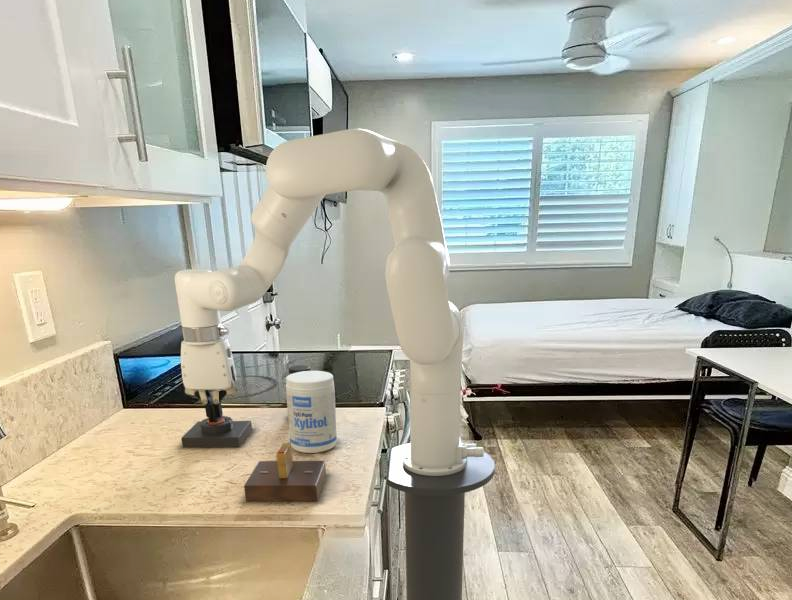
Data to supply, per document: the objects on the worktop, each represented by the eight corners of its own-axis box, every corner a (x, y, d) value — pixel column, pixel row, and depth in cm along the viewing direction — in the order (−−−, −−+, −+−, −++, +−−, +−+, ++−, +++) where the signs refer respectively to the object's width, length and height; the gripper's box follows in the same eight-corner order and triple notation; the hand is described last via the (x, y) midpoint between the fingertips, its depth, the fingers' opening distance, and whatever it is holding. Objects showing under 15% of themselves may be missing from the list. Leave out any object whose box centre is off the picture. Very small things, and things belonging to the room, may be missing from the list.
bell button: (228, 424, 123) (226, 417, 122) (222, 430, 120) (221, 423, 119) (211, 425, 123) (210, 417, 123) (206, 431, 120) (204, 423, 119)
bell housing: (252, 430, 127) (250, 413, 125) (239, 447, 117) (237, 429, 116) (199, 430, 127) (196, 413, 126) (182, 447, 118) (179, 429, 117)
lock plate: (326, 475, 103) (324, 459, 102) (317, 501, 94) (316, 484, 93) (261, 476, 104) (259, 460, 103) (246, 501, 95) (243, 484, 94)
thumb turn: (285, 466, 100) (282, 441, 99) (293, 466, 100) (290, 441, 98) (278, 478, 96) (276, 452, 94) (287, 478, 96) (284, 452, 94)
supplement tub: (295, 457, 111) (288, 385, 106) (286, 441, 120) (280, 373, 114) (343, 450, 114) (339, 379, 109) (331, 434, 123) (327, 367, 117)
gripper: (244, 329, 117) (254, 414, 124) (173, 330, 118) (187, 414, 125) (234, 337, 110) (245, 426, 117) (158, 338, 111) (174, 426, 118)
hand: (215, 420), depth 121 cm, fingers closed
